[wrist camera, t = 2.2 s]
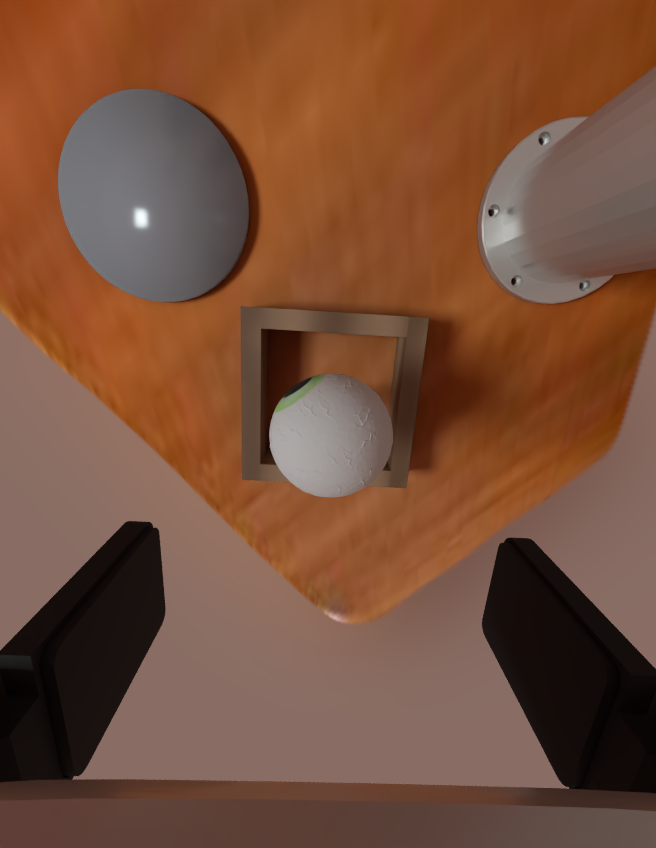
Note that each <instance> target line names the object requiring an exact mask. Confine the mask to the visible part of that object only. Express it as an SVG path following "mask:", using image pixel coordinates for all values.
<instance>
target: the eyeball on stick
mask: <svg viewBox="0 0 656 848" xmlns="http://www.w3.org/2000/svg"><path fill="white" fill-rule="evenodd" d="M269 439H270V449H271V452H272V455H273V457H274V460H275V462H276V464H277V466H278V468H279V469H280V471H281V472H282V473H283V475H284V476H285V477H286V478H287V479H288V480H289V481H290V482H291V483H292V484H294V485H295V486H296V487H298V488H299V489H301V490H302V491H304V492H307V493H310V494H312V495H315V496H321V497H341V496H346V495H349V494H353V493H355V492H357V491H359V490H361V489H363V488H365V487H366V486H367V485H369V484H370V483H371V482H372V481H373V480H374V479H376V477H377V476H378V475H379V474H380V473H381V471H382V470H383V468H384V467H385V465H386V463H387V460H388V458H389V456H390V453H391V448H392V444H393V429H392V423H391V418H390V416H389V413H388V410H387V408H386V406H385V405H384V403H383V401H382V400H381V398H380V397H379V395H378V394H377V393H376V392H375V391H374V390H372V389H371V388H370V387H369V386H367V385H366V384H364V383H363V382H361V381H359V380H357V379H354V378H352V377H349V376H346V375H343V374H322V375H317V376H313V377H310V378H308V379H306V380H304V381H302V382H300V383H298V384H297V385H295V386H294V387H293V388H291V389H290V390H289V391H288V392H287V393H286V394H285V395H284V396H283V398H282V399H281V400H280V402H279V403H278V405H277V407H276V409H275V411H274V413H273V416H272V420H271V424H270V432H269Z"/></svg>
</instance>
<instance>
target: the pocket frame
mask: <svg viewBox="0 0 656 848" xmlns="http://www.w3.org/2000/svg"><path fill="white" fill-rule="evenodd" d="M428 323H429V318H423V317H407V316H390V315H374V314H358V313H342V312H326V311H310V310H294V309H277V308H261V307H245V306H241V392H242V480H258V481H278V482H290V481H289V480H288V479H287V478H286V477H285V476H284V475H283V473H282V472H281V471H280V469H279V468H278V466H277V464H276V462H275V460H274V457H273V455H272V452H271V450H267V388H268V329H277V330H294V331H310V332H327V333H343V334H360V335H376V336H393V337H398V338H397V347H396V356H395V365H394V374H393V383H392V392H391V400H390V409H389V416H390V418H391V423H392V429H393V444H392V448H391V453H390V456H389V458H388V460H387V463H386V465H385V467H384V468H383V470H382V471H381V473H380V474H379V475H378V476H377V477H376V479H374V480H373V481H372V482H371V483H370V484H369V485H367V486H376V487H396V488H406V487H407V480H408V472H409V465H410V457H411V450H412V442H413V435H414V427H415V420H416V412H417V405H418V398H419V390H420V383H421V375H422V368H423V360H424V353H425V345H426V338H427V330H428Z"/></svg>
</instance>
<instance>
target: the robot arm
mask: <svg viewBox="0 0 656 848" xmlns="http://www.w3.org/2000/svg"><path fill="white" fill-rule="evenodd" d="M539 142H540V143H539ZM488 211H491V213H492V215H491V217H490V216H489V214H488ZM477 236H478V242H479V249H480V253H481V256H482V259H483V262H484V265H485V267H486V268H487V270H488V272H489V273H490V275H491V277H492V278H493V279H494V281H495V282H496V283H497V284H498V285H499V286H500V287H501V288H502V289H503V290H505V291H506V292H508V293H509V294H510V295H512V296H513V297H516V298H518V299H521V300H523V301H526V302H531V303H537V304H554V303H562V302H568V301H571V300H575V299H578V298H581V297H583V296H585V295H587V294H589V293H591V292H593V291H595V290H596V289H598V288H599V287H601V286H602V285H603V284H605V283H606V282H607V281H608V280H610V279H611V278H612V277H613V276H614V275H616V274H623V273H630V272H636V271H643V270H650V269H656V66H655V67H654V68H652V69H651V70H650V71H648V72H647V73H646V74H644V75H643V76H642V77H640V78H639V79H638V80H637V81H635V82H634V83H633V84H631V85H630V86H629V87H627V88H626V89H625V90H623V91H622V92H621V93H619V94H618V95H617V96H616V97H614V98H613V99H612V100H610V101H609V102H608V103H606V104H605V105H604V106H602V107H601V108H600V109H599V110H597V111H596V112H595V113H593V114H592V115H591V116H589V117H588V116H583V117H568V118H565V119H561V120H557V121H553V122H551V123H549V124H547V125H545V126H543V127H541V128H539V129H537V130H535V131H534V132H533V133H531V134H530V135H529V136H527V137H526V138H525V139H523V140H522V141H521V142H520V143H519V144H517V145H516V146H515V147H514V148H513V149H512V150H511V151H510V152H509V153H508V154H507V156H506V157H505V158H504V159H503V160H502V162H501V163H500V164H499V165H498V167H497V168H496V170H495V172H494V173H493V175H492V177H491V179H490V180H489V182H488V184H487V187H486V190H485V192H484V195H483V198H482V200H481V205H480V210H479V215H478V232H477ZM512 279H513V280H514V283H513V285H512V284H511V280H512ZM579 285H580V287H579ZM159 538H160V537H159V530H158V529H157V528H153V525H152V523H150V522H137V521H128V522H126V523H125V524H124V525H123V526H122V527H121V528H120V529H119V530H118V531H117V532H116V533H115V534H114V535H113V536H112V537H111V538H110V539H109V540H108V541H107V542H106V543H105V544H104V545H103V546H102V547H101V548H100V549H99V550H98V551H97V552H96V553H95V554H94V555H93V556H92V557H91V558H90V559H89V560H88V561H87V562H86V563H85V565H83V566H82V567H81V569H80V570H79V571H78V572H77V573H76V574H75V575H74V576H73V577H72V578H71V579H70V580H69V581H68V582H67V583H66V584H65V585H64V586H63V587H62V588H61V589H60V590H59V591H58V592H57V593H56V594H55V595H54V596H53V597H52V598H51V599H50V600H49V601H48V603H47V604H45V606H43V608H41V609H40V611H39V612H38V613H37V614H36V615H35V616H34V617H33V618H32V619H31V620H30V621H29V622H28V623H27V624H26V625H25V626H24V627H23V628H22V629H21V630H20V631H19V632H18V633H17V634H16V635H15V636H14V637H13V638H12V639H11V640H10V641H9V642H8V643H7V644H6V645H5V646H4V647H3V648H2V650H0V848H656V669H655V668H654V667H653V666H652V665H651V664H650V663H649V662H648V661H647V660H646V658H644V656H643V655H642V654H641V653H640V652H639V651H638V650H637V649H636V648H635V647H634V646H633V645H632V644H631V643H630V642H629V641H628V640H627V639H626V638H625V636H624V635H623V634H622V633H621V632H619V630H618V629H617V628H616V627H615V626H614V625H613V624H612V623H611V622H610V621H609V620H608V619H607V618H606V617H605V616H604V614H603V613H602V612H601V611H599V609H598V608H597V607H596V606H595V605H594V604H593V603H592V602H591V601H590V600H589V599H588V598H587V597H586V596H585V595H584V594H583V593H582V592H581V590H580V589H579V588H578V587H577V586H576V585H575V584H574V583H573V582H572V581H571V580H570V579H569V578H568V577H567V576H566V575H565V574H564V573H563V572H562V571H561V570H560V568H559V567H557V566H556V564H555V563H554V562H553V561H552V560H551V559H550V558H549V557H548V556H547V555H546V554H545V553H544V552H543V551H542V550H541V549H540V548H539V547H538V546H537V544H536V543H535V542H534V541H532V540H531V539H528V538H507V539H506V540H505V542H504V543H501V544H500V545H499V547H498V552H497V556H496V560H495V565H494V570H493V574H492V578H491V583H490V587H489V592H488V596H487V601H486V605H485V610H484V615H483V619H482V628H483V632H484V635H485V637H486V639H487V641H488V643H489V645H490V647H491V649H492V651H493V653H494V655H495V657H496V659H497V661H498V663H499V665H500V667H501V668H502V670H503V672H504V674H505V676H506V678H507V680H508V682H509V684H510V686H511V688H512V690H513V692H514V693H515V696H516V698H517V699H518V702H519V703H520V705H521V707H522V709H523V711H524V713H525V715H526V717H527V719H528V721H529V723H530V725H531V727H532V729H533V731H534V733H535V734H536V736H537V738H538V740H539V742H540V744H541V746H542V748H543V750H544V752H545V754H546V756H547V758H548V760H549V762H550V764H551V766H552V767H553V770H554V771H555V773H556V775H557V777H558V779H559V780H560V781H561V783H562V784H563V785H564V786H566V787H569V788H570V789H560V788H523V787H488V786H452V785H415V784H371V783H369V784H368V783H324V782H322V783H321V782H274V781H209V780H208V781H207V780H144V779H115V780H114V779H110V780H109V779H107V780H104V779H103V780H72V779H73V777H74V776H79V775H81V774H82V773H83V771H84V770H85V769H86V767H87V765H88V763H89V762H90V760H91V758H92V756H93V754H94V752H95V750H96V748H97V746H98V745H99V743H100V741H101V739H102V737H103V735H104V733H105V731H106V729H107V727H108V726H109V724H110V722H111V720H112V718H113V716H114V714H115V712H116V711H117V709H118V707H119V705H120V703H121V701H122V699H123V697H124V695H125V693H126V692H127V689H128V688H129V686H130V684H131V682H132V680H133V678H134V676H135V674H136V673H137V671H138V669H139V667H140V665H141V663H142V661H143V659H144V657H145V655H146V654H147V652H148V650H149V648H150V646H151V644H152V642H153V640H154V639H155V637H156V635H157V633H158V631H159V629H160V627H161V625H162V623H163V620H164V616H165V598H164V586H163V573H162V561H161V551H160V550H161V549H160V539H159Z"/></svg>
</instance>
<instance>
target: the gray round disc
mask: <svg viewBox="0 0 656 848" xmlns="http://www.w3.org/2000/svg"><path fill="white" fill-rule="evenodd" d="M58 189H59V199H60V204H61V209H62V213H63V216H64V219H65V222H66V225H67V228H68V230H69V232H70V235H71V237H72V239H73V240H74V242H75V244H76V246H77V247H78V249H79V251H80V252H81V253H82V255H83V256H84V258H85V259H86V260H87V262H88V263H89V264H90V265H91V266H92V267H93V268H94V269H95V270H96V271H97V272H98V273H99V274H100V275H101V276H102V277H103V278H104V279H106V280H107V281H108V282H110V283H111V284H113V285H114V286H115V287H117V288H119V289H121V290H123V291H124V292H126V293H129V294H131V295H133V296H136V297H139V298H142V299H146V300H150V301H158V302H181V301H188V300H191V299H194V298H198V297H200V296H202V295H204V294H206V293H208V292H210V291H211V290H213V289H214V288H216V287H217V286H218V285H219V284H220V283H222V282H223V281H224V280H225V279H226V278H227V276H228V275H229V274H230V273H231V272H232V270H233V269H234V267H235V266H236V264H237V262H238V261H239V259H240V256H241V254H242V252H243V250H244V247H245V243H246V240H247V236H248V230H249V222H250V205H249V195H248V190H247V185H246V181H245V178H244V175H243V172H242V169H241V167H240V164H239V162H238V160H237V158H236V156H235V154H234V152H233V151H232V149H231V147H230V145H229V144H228V142H227V140H226V139H225V138H224V136H223V135H222V133H221V132H220V131H219V129H218V128H217V127H216V126H215V125H214V124H213V123H212V122H211V121H210V120H209V118H207V117H206V116H205V115H204V114H203V113H201V112H200V111H199V110H198V109H197V108H195V107H194V106H192V105H190V104H189V103H187V102H186V101H184V100H182V99H180V98H178V97H176V96H173V95H171V94H167V93H164V92H161V91H156V90H150V89H130V90H124V91H119V92H116V93H113V94H110V95H108V96H106V97H104V98H102V99H100V100H98V101H97V102H95V103H94V104H93V105H92V106H90V107H89V108H88V109H87V110H86V111H85V112H84V113H83V114H82V115H81V116H80V117H79V118H78V120H77V121H76V123H75V124H74V126H73V127H72V129H71V130H70V132H69V134H68V137H67V139H66V141H65V143H64V147H63V150H62V153H61V158H60V164H59V172H58Z"/></svg>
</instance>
